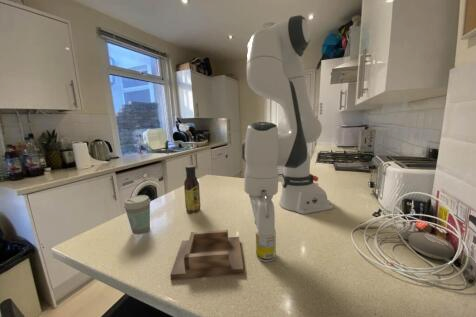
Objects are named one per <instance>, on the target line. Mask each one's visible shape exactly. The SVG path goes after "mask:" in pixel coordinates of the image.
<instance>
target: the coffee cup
mask: <svg viewBox="0 0 476 317" xmlns="http://www.w3.org/2000/svg"><path fill="white" fill-rule="evenodd" d="M123 208H124V209H125V212H126V216H127V219H128V223H129V227H130V230H131V232H132V234H133V235H141V234H145V233H146V232H149V231H150V229H151V228H150V227H151V199H150V197H149V196H148V195H146V194H139V195H135V196H130V197H129V198H126V199H125V201H124V204H123Z"/></svg>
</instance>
